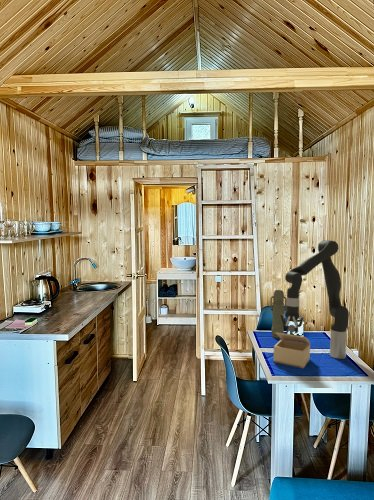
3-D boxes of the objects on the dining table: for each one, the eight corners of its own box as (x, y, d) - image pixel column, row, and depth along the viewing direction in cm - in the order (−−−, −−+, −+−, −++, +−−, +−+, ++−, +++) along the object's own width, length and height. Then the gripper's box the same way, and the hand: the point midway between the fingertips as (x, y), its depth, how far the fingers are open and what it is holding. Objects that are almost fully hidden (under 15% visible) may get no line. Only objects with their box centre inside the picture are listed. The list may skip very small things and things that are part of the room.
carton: (309, 359, 228) (310, 344, 227) (303, 368, 214) (304, 351, 213) (280, 354, 237) (281, 339, 236) (273, 362, 223) (273, 346, 223)
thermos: (287, 338, 270) (288, 291, 268) (271, 338, 270) (272, 291, 267) (283, 334, 279) (285, 289, 277) (268, 334, 279) (269, 289, 276)
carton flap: (310, 343, 227) (311, 332, 230) (305, 338, 214) (306, 326, 217) (281, 339, 236) (283, 328, 239) (275, 333, 224) (276, 321, 226)
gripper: (306, 305, 221) (305, 332, 222) (282, 302, 228) (281, 329, 229) (303, 307, 215) (302, 336, 216) (279, 304, 222) (278, 332, 223)
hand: (291, 332), depth 223 cm, fingers closed on carton flap, 4 cm apart
